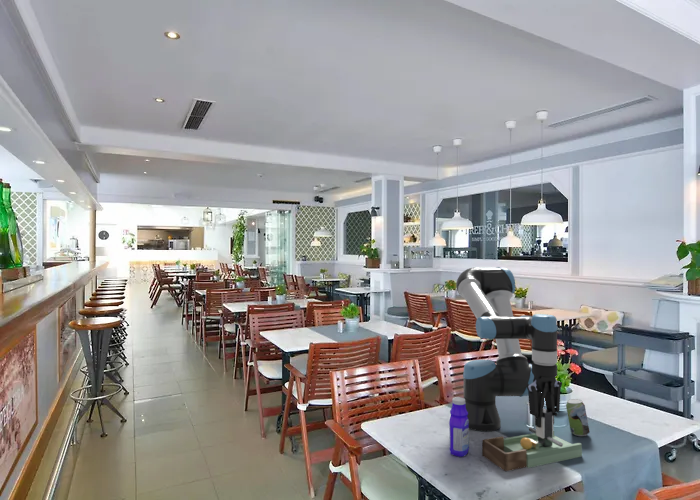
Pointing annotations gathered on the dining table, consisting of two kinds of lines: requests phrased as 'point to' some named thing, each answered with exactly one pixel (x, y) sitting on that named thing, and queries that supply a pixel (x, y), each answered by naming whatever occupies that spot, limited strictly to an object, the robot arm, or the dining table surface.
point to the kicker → (548, 433)
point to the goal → (503, 454)
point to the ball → (526, 443)
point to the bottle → (459, 428)
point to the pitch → (544, 450)
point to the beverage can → (577, 417)
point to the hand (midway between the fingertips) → (544, 435)
